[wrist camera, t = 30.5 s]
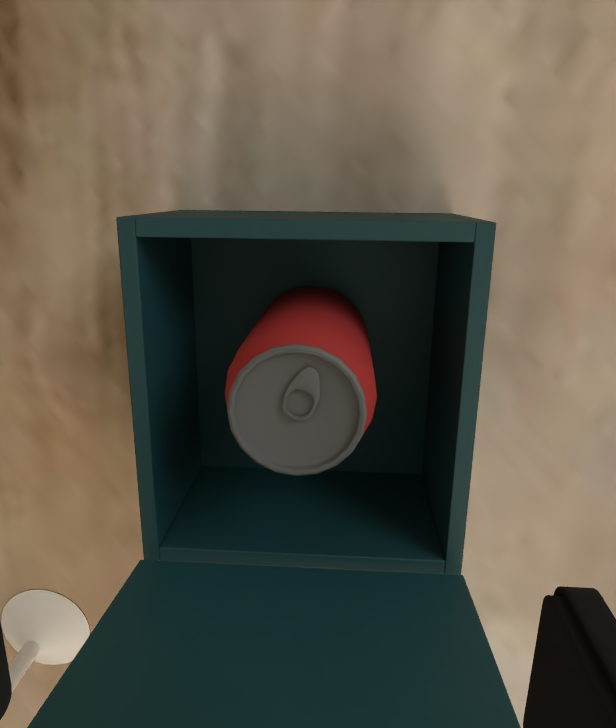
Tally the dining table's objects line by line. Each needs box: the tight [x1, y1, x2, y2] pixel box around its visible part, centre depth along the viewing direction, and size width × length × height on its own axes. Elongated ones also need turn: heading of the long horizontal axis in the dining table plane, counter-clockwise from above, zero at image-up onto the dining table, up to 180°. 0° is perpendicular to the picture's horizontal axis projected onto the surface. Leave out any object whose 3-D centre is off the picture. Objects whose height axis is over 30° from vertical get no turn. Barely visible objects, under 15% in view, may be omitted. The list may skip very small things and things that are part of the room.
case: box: [117, 210, 496, 575], centre depth 31 cm, size 17×16×10 cm
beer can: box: [225, 286, 377, 476], centre depth 29 cm, size 7×7×12 cm
